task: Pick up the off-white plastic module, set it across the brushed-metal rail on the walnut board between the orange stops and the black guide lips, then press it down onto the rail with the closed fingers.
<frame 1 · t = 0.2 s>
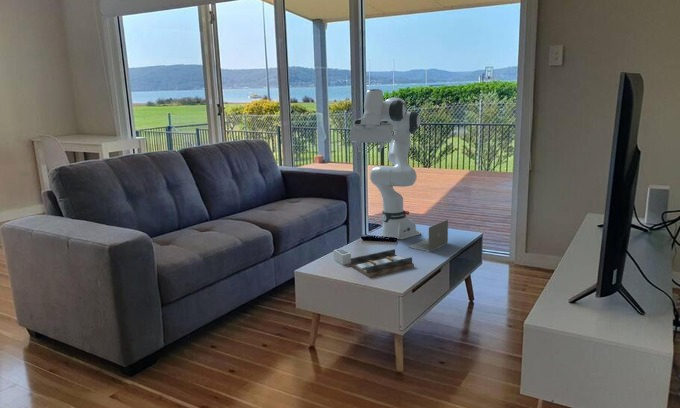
hand: (369, 151, 233), 52 cm above the table, tool tilted 20°, fingers open, 8 cm apart
rail board: (381, 266, 232), on the table
laptop: (428, 246, 259), on the table
module: (342, 261, 240), on the table
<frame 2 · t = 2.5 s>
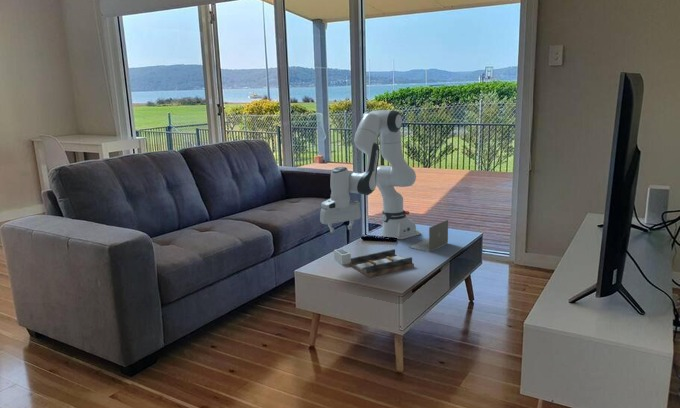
hand: (341, 230, 236), 15 cm above the table, tool pointing down, fingers open, 8 cm apart
nothing on the table moved.
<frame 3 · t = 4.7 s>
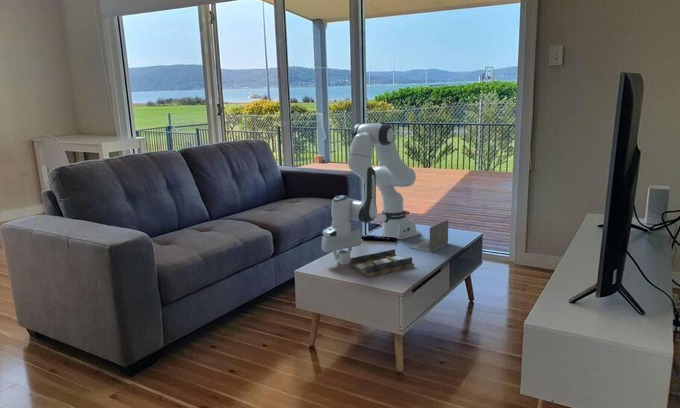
hand: (342, 257, 240), 2 cm above the table, tool pointing down, fingers closed on module, 5 cm apart
module: (342, 261, 240), on the table, touching gripper
everything else where it was.
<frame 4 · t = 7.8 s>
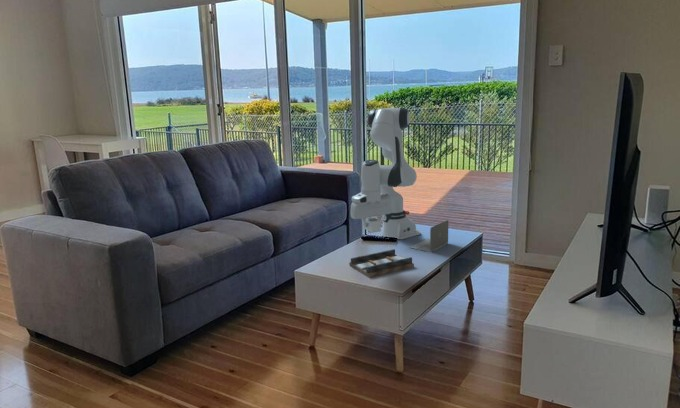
hand: (371, 225, 229), 19 cm above the table, tool pointing down, fingers closed on module, 5 cm apart
module: (371, 229, 229), point 17 cm above the table, touching gripper
everything else where it was.
when the fingers open (5 cm above the table, at t = 11.2 s): module stays where it is, resting on rail board.
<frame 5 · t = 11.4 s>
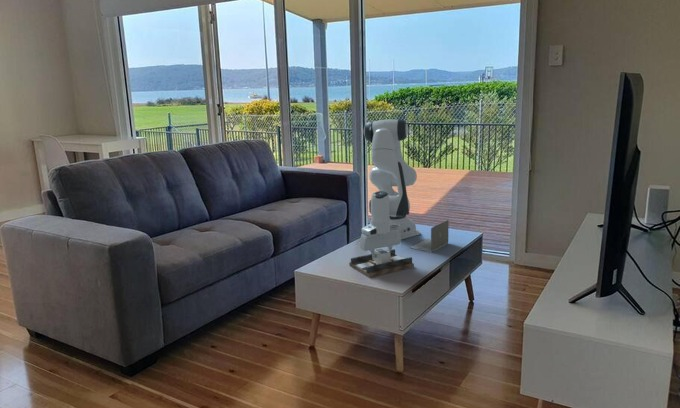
hand: (381, 256, 230), 5 cm above the table, tool pointing down, fingers open, 6 cm apart
module: (381, 261, 231), point 2 cm above the table, touching rail board
everything else where it was.
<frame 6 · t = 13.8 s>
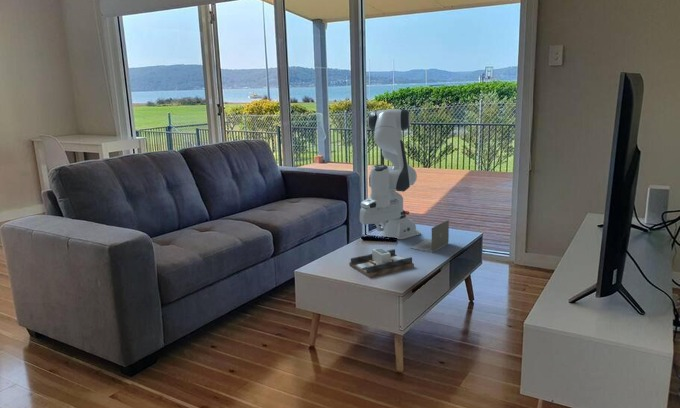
hand: (380, 230, 228), 17 cm above the table, tool pointing down, fingers closed
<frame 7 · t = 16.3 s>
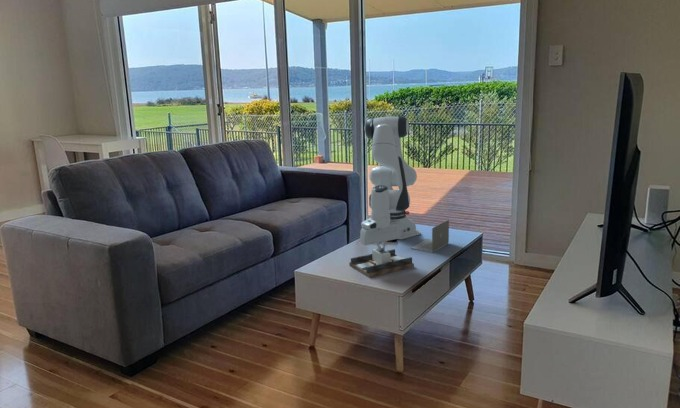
hand: (381, 250, 230), 8 cm above the table, tool pointing down, fingers closed, pressing on module
module: (381, 261, 231), point 2 cm above the table, touching gripper, rail board
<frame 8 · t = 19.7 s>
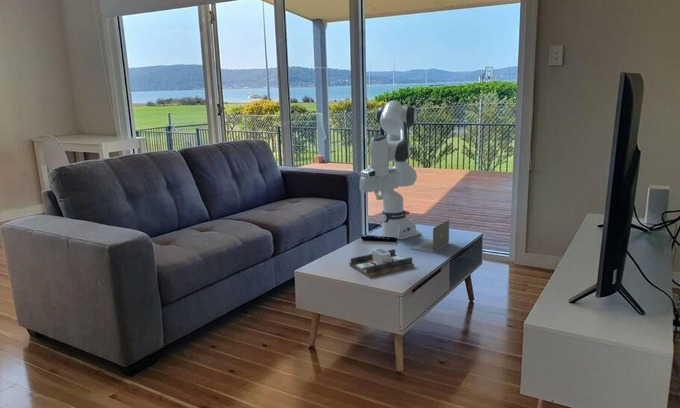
hand: (379, 199, 236), 29 cm above the table, tool pointing down, fingers closed
module: (381, 261, 231), point 2 cm above the table, touching rail board
at the end: module 0.0 cm off-centre on the rail board, point 2.3 cm above the rail board's base; module tilted 0°; the gripper is holding nothing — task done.
